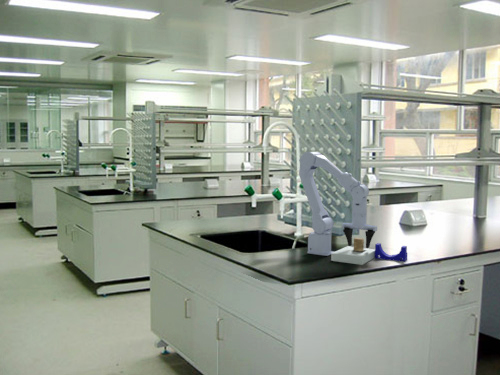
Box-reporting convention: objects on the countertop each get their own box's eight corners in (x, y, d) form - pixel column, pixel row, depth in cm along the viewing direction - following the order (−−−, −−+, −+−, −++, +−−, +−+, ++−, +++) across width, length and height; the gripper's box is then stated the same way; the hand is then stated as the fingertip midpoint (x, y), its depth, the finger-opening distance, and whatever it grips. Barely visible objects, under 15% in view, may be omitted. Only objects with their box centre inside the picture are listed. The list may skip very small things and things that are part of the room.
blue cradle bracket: (407, 260, 204) (407, 245, 204) (404, 262, 201) (405, 247, 200) (378, 256, 210) (378, 242, 210) (374, 258, 207) (375, 244, 206)
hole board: (331, 260, 202) (331, 253, 202) (347, 252, 216) (347, 246, 216) (362, 264, 195) (362, 257, 195) (376, 256, 209) (376, 249, 209)
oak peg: (351, 258, 206) (352, 239, 206) (355, 256, 210) (356, 237, 209) (360, 259, 204) (361, 240, 203) (365, 257, 207) (365, 238, 207)
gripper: (339, 213, 206) (338, 246, 207) (373, 216, 198) (372, 250, 199) (345, 211, 212) (345, 243, 213) (379, 214, 204) (378, 247, 205)
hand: (358, 246), depth 206 cm, fingers open, 7 cm apart
